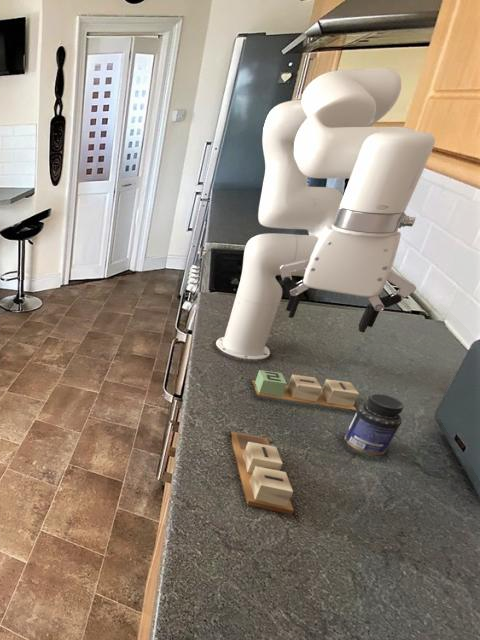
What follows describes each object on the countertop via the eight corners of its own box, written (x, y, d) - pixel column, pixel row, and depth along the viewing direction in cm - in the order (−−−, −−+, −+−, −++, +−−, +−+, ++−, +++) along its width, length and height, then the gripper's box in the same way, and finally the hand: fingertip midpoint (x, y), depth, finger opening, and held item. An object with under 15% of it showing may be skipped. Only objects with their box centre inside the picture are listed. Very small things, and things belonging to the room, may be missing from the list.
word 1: (229, 435, 87) (235, 417, 85) (266, 441, 85) (273, 423, 83) (247, 504, 72) (255, 485, 70) (292, 514, 70) (301, 494, 68)
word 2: (250, 383, 103) (256, 367, 101) (343, 397, 97) (351, 379, 95) (256, 398, 98) (262, 381, 96) (355, 413, 92) (364, 396, 90)
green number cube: (254, 382, 102) (259, 369, 100) (277, 385, 100) (281, 372, 98) (258, 392, 98) (263, 379, 96) (282, 396, 96) (287, 382, 95)
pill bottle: (391, 460, 80) (418, 413, 75) (353, 456, 81) (377, 409, 76) (371, 438, 85) (395, 392, 80) (335, 435, 86) (357, 389, 81)
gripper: (442, 222, 63) (391, 326, 72) (299, 210, 73) (269, 303, 81) (449, 234, 58) (393, 344, 66) (295, 219, 68) (263, 317, 76)
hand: (325, 321), depth 74 cm, fingers open, 9 cm apart
